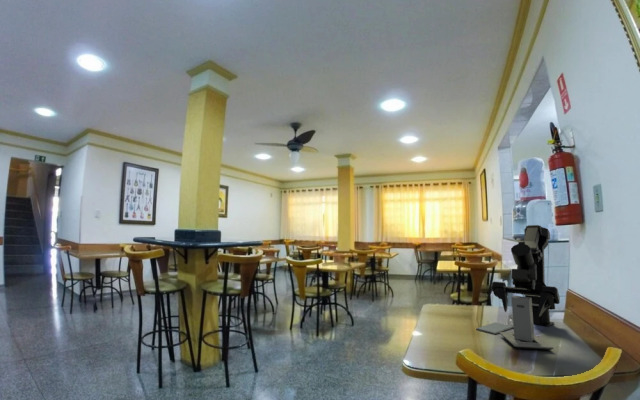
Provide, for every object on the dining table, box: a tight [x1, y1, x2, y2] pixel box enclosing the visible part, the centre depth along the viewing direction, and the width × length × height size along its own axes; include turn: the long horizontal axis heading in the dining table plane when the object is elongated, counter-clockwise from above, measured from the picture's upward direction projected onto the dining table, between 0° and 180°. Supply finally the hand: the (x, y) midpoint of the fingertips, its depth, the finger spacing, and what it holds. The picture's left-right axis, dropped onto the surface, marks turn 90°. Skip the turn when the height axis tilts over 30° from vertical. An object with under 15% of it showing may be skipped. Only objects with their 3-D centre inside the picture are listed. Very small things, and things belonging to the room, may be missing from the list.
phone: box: [475, 322, 514, 336], centre depth 116 cm, size 14×7×1 cm, turn 124°
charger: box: [511, 295, 535, 342], centre depth 101 cm, size 4×5×13 cm
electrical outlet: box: [499, 331, 554, 351], centre depth 100 cm, size 13×10×2 cm
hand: (521, 313), depth 99 cm, fingers open, 9 cm apart
